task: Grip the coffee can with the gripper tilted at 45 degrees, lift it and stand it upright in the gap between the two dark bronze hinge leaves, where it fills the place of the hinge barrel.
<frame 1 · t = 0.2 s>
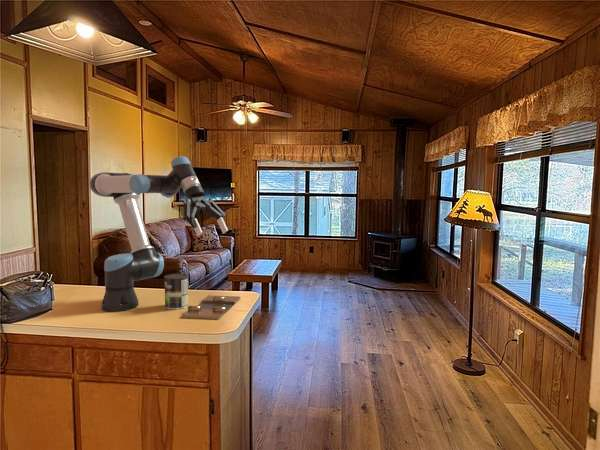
hand: (213, 233, 160), 35 cm above the worktop, tool tilted 35°, fingers open, 13 cm apart
coffee can: (176, 306, 180), on the worktop
hinge leaves: (213, 307, 178), on the worktop
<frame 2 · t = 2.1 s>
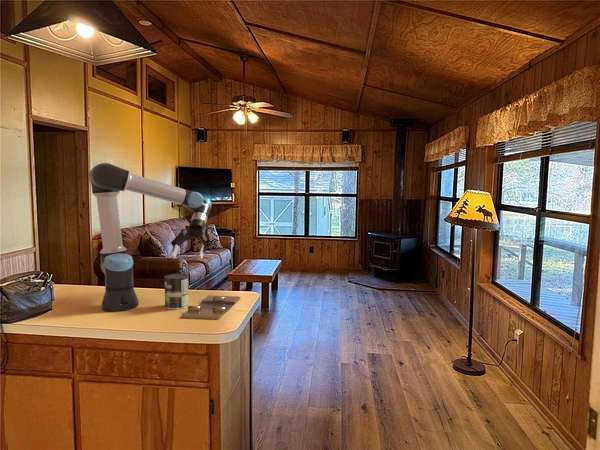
hand: (186, 257, 190), 21 cm above the worktop, tool tilted 45°, fingers open, 13 cm apart
nothing on the worktop moved.
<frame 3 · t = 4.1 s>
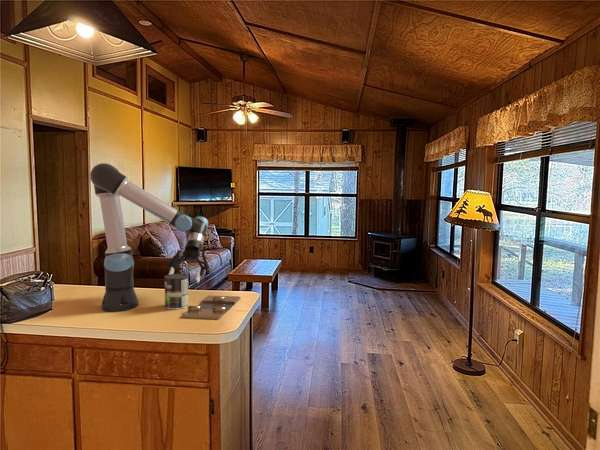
hand: (183, 280, 183), 11 cm above the worktop, tool tilted 45°, fingers open, 13 cm apart
nothing on the worktop moved.
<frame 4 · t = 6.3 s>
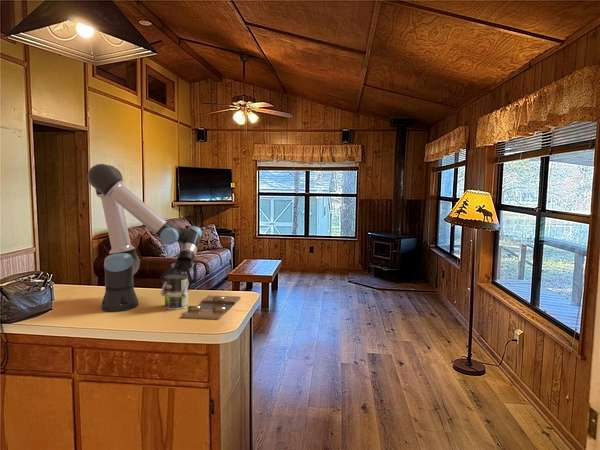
hand: (173, 295, 177), 6 cm above the worktop, tool tilted 45°, fingers closed on coffee can, 10 cm apart
coffee can: (176, 306, 180), on the worktop, touching gripper
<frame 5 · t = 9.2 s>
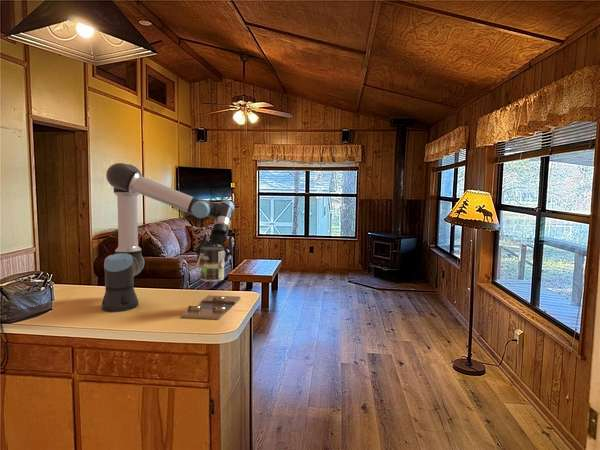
hand: (210, 267, 174), 19 cm above the worktop, tool tilted 45°, fingers closed on coffee can, 10 cm apart
coffee can: (212, 279, 177), point 13 cm above the worktop, touching gripper
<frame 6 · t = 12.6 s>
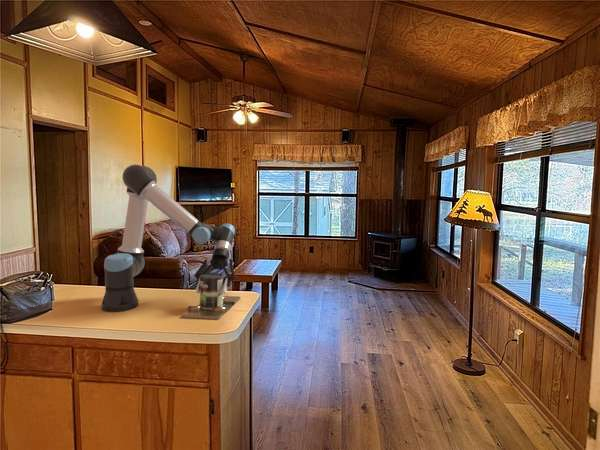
hand: (210, 292, 175), 8 cm above the worktop, tool tilted 45°, fingers open, 11 cm apart
coffee can: (211, 306, 179), resting on hinge leaves, touching gripper
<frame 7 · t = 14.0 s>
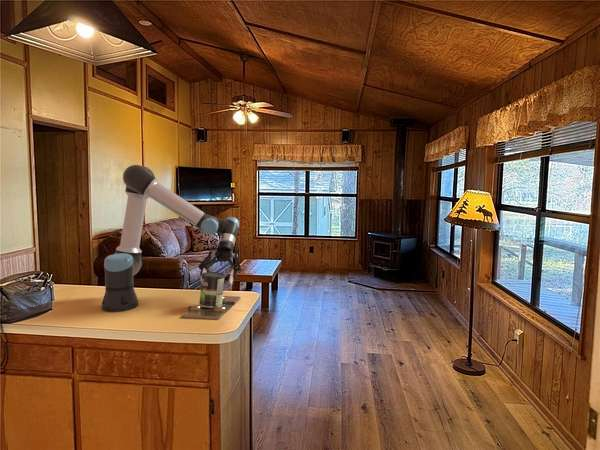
hand: (215, 282, 179), 11 cm above the worktop, tool tilted 45°, fingers open, 13 cm apart
coffee can: (210, 305, 180), point 1 cm above the worktop, touching gripper, hinge leaves
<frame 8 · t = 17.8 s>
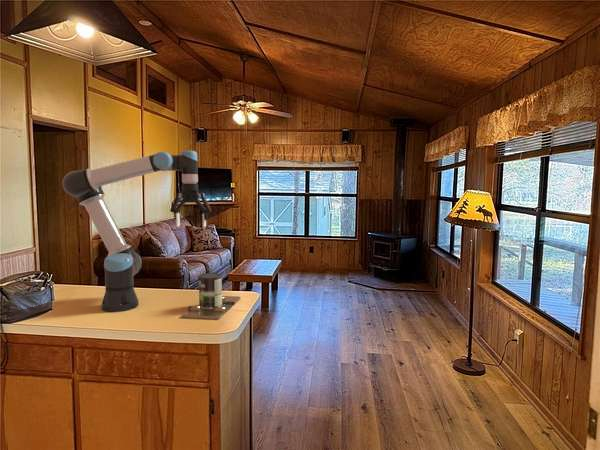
hand: (191, 226, 195), 35 cm above the worktop, tool pointing down, fingers open, 13 cm apart
coffee can: (210, 306, 180), resting on hinge leaves
at the end: coffee can inside the target area on the hinge leaves (2.1 cm from its centre), point 0.1 cm above the hinge leaves's base; coffee can tilted 0°; the gripper is holding nothing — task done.
